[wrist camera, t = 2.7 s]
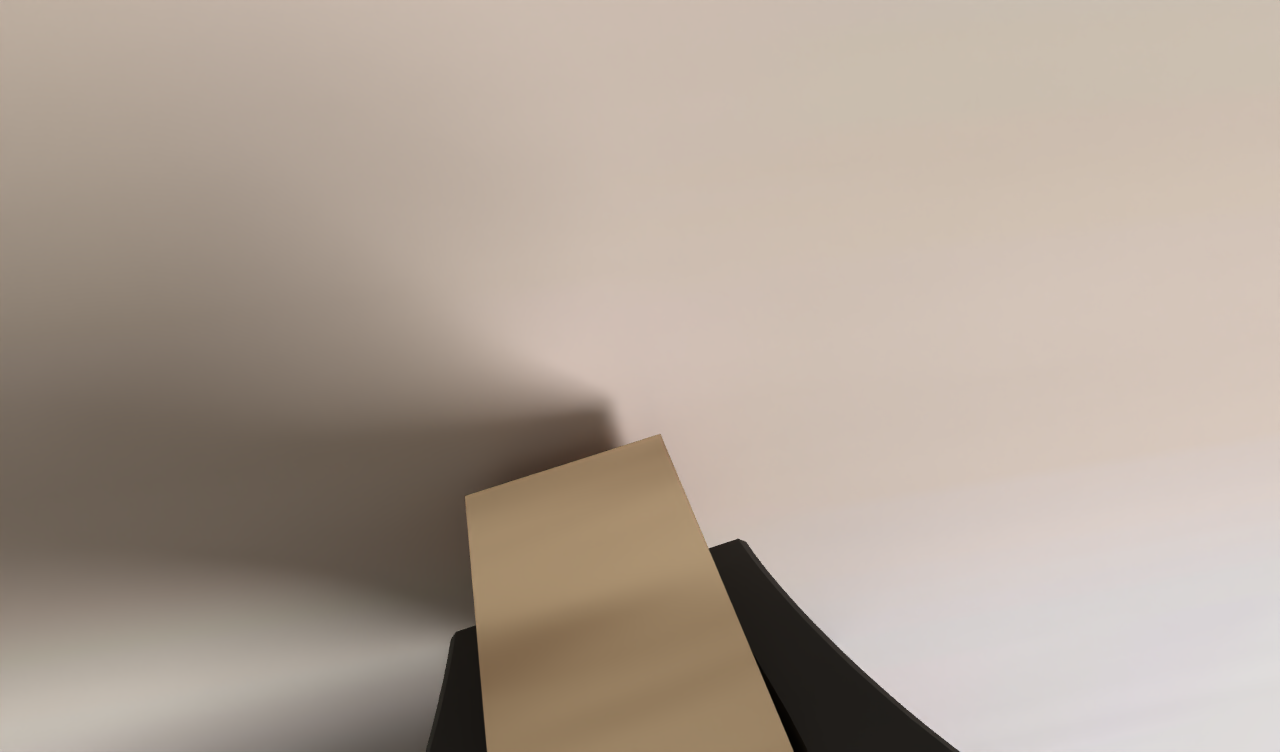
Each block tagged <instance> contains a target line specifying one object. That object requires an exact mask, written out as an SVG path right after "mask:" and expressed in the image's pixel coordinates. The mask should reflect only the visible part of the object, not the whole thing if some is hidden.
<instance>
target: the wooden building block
mask: <svg viewBox="0 0 1280 752" xmlns="http://www.w3.org/2000/svg"><path fill="white" fill-rule="evenodd" d="M465 504H466V515H467V527H468V538H469V550H470V561H471V573H472V584H473V596H474V607H475V619H476V630H477V642H478V653H479V665H480V676H481V688H482V699H483V711H484V722H485V734H486V745H487V752H794V751H793V749H792V746H791V744H790V742H789V739H788V737H787V734H786V732H785V730H784V727H783V725H782V723H781V720H780V718H779V715H778V713H777V711H776V708H775V706H774V703H773V701H772V699H771V696H770V694H769V692H768V689H767V687H766V684H765V682H764V680H763V677H762V675H761V673H760V670H759V668H758V665H757V663H756V661H755V658H754V656H753V653H752V651H751V649H750V646H749V644H748V642H747V639H746V637H745V634H744V632H743V630H742V627H741V625H740V623H739V620H738V618H737V615H736V613H735V611H734V608H733V606H732V603H731V601H730V599H729V596H728V594H727V592H726V589H725V587H724V584H723V582H722V580H721V577H720V575H719V573H718V570H717V568H716V565H715V563H714V561H713V558H712V556H711V553H710V551H709V549H708V546H707V544H706V542H705V539H704V537H703V534H702V532H701V530H700V527H699V525H698V523H697V520H696V518H695V515H694V513H693V511H692V508H691V506H690V503H689V501H688V499H687V496H686V494H685V492H684V489H683V487H682V484H681V482H680V480H679V477H678V475H677V473H676V470H675V468H674V465H673V463H672V461H671V458H670V456H669V454H668V451H667V449H666V446H665V444H664V442H663V439H662V437H661V434H658V435H655V436H652V437H649V438H646V439H643V440H640V441H636V442H633V443H630V444H627V445H624V446H621V447H618V448H614V449H611V450H608V451H605V452H602V453H599V454H596V455H592V456H589V457H586V458H583V459H580V460H577V461H574V462H570V463H567V464H564V465H561V466H558V467H555V468H552V469H548V470H545V471H542V472H539V473H536V474H533V475H529V476H526V477H523V478H520V479H517V480H514V481H511V482H507V483H504V484H501V485H498V486H495V487H492V488H489V489H485V490H482V491H479V492H476V493H473V494H470V495H467V496H465Z"/></svg>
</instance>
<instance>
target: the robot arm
mask: <svg viewBox="0 0 1280 752" xmlns="http://www.w3.org/2000/svg"><path fill="white" fill-rule="evenodd" d="M709 551H710V553H711V556H712V558H713V561H714V563H715V565H716V568H717V570H718V573H719V575H720V577H721V580H722V582H723V584H724V587H725V589H726V592H727V594H728V596H729V599H730V601H731V603H732V606H733V608H734V611H735V613H736V615H737V618H738V620H739V623H740V625H741V627H742V630H743V632H744V634H745V637H746V639H747V642H748V644H749V646H750V649H751V651H752V653H753V656H754V658H755V661H756V663H757V665H758V668H759V670H760V673H761V675H762V677H763V680H764V682H765V684H766V687H767V689H768V692H769V694H770V696H771V699H772V701H773V703H774V706H775V708H776V711H777V713H778V715H779V718H780V720H781V723H782V725H783V727H784V730H785V732H786V734H787V737H788V739H789V742H790V744H791V746H792V749H793V751H794V752H959V751H958V750H957V749H955V748H954V747H953V746H952V745H950V744H949V743H948V742H946V741H945V740H944V739H943V738H941V737H940V736H939V735H938V734H936V733H935V732H934V731H933V730H931V729H930V728H929V727H927V726H926V725H925V724H924V723H922V722H921V721H920V720H919V719H918V718H916V717H915V716H914V715H913V714H912V713H910V712H909V711H908V710H907V709H906V708H904V707H903V706H902V705H901V704H900V703H899V702H897V701H896V700H895V699H894V698H893V697H892V696H890V695H889V694H888V693H887V692H886V691H885V690H884V689H883V688H881V687H880V686H879V685H878V684H877V683H876V682H875V681H874V680H873V679H871V678H870V677H869V676H868V675H867V674H866V673H865V672H864V671H863V670H861V669H860V668H859V667H858V666H857V665H856V664H855V663H854V662H853V661H852V660H851V659H850V658H849V657H848V656H847V655H846V654H845V653H843V652H842V651H841V650H840V649H839V648H838V647H837V646H836V645H835V644H834V643H833V642H832V641H831V640H830V639H829V638H828V637H827V636H826V635H825V634H824V633H823V632H822V631H821V630H820V629H819V628H818V627H817V626H816V625H815V624H814V623H813V622H812V620H811V619H810V618H809V617H808V616H807V615H806V614H805V613H804V612H803V611H802V610H801V609H800V608H799V607H798V606H797V604H796V603H795V602H794V601H793V600H792V599H791V598H790V597H789V595H788V594H787V593H786V592H785V591H784V590H783V589H782V588H781V586H780V585H779V584H778V583H777V582H776V580H775V579H774V578H773V577H772V576H771V575H770V573H769V572H768V571H767V570H766V568H765V567H764V566H763V565H762V563H761V562H760V561H759V559H758V558H757V557H756V555H755V554H754V553H753V551H752V550H751V548H750V547H749V545H748V544H747V542H745V541H742V540H740V539H736V540H733V541H730V542H727V543H724V544H721V545H718V546H715V547H712V548H709ZM426 752H487V745H486V734H485V722H484V711H483V699H482V688H481V676H480V665H479V653H478V642H477V630H476V626H472V627H469V628H466V629H463V630H460V631H457V632H456V633H455V634H454V636H453V637H452V639H451V642H450V647H449V653H448V659H447V664H446V669H445V674H444V679H443V684H442V688H441V693H440V697H439V702H438V706H437V710H436V714H435V718H434V722H433V726H432V730H431V734H430V738H429V741H428V745H427V748H426Z"/></svg>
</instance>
